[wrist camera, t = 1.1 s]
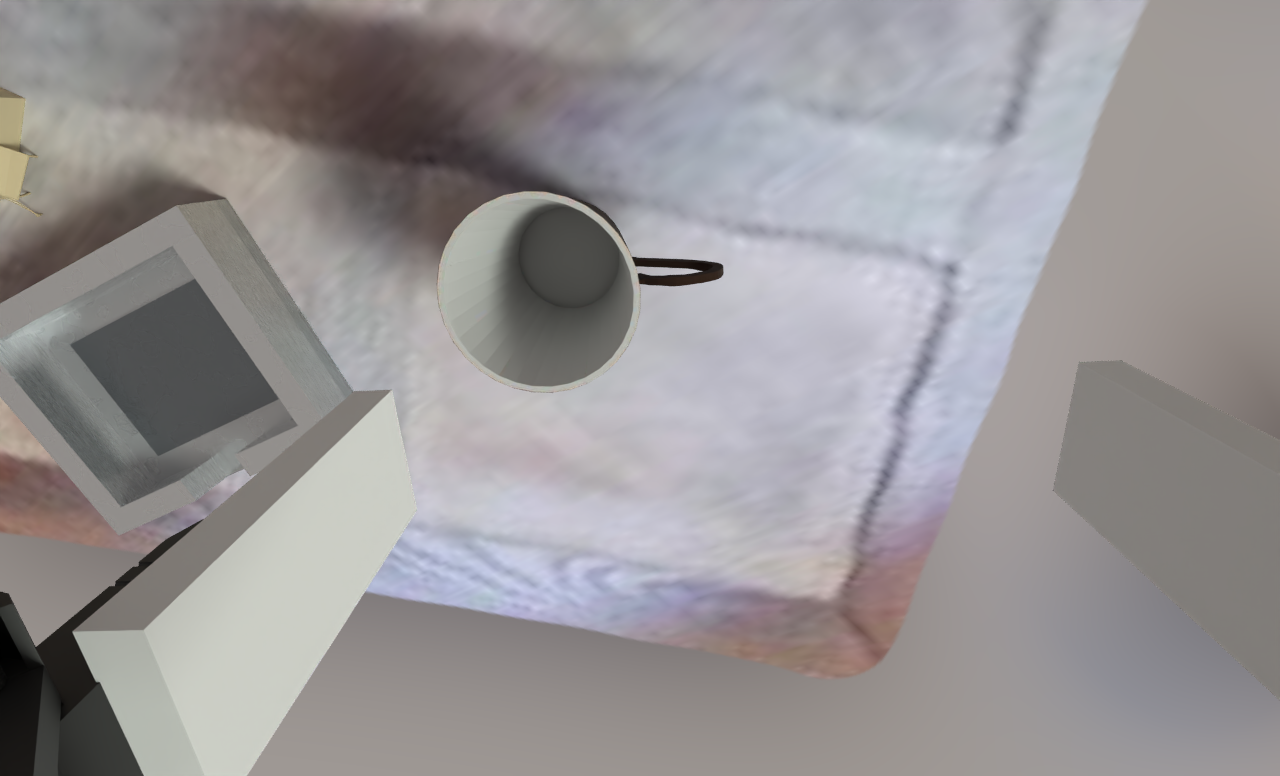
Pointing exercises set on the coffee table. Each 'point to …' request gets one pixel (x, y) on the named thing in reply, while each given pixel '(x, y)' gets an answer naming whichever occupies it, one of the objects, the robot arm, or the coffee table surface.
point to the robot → (12, 147)
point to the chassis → (164, 364)
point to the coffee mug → (545, 290)
